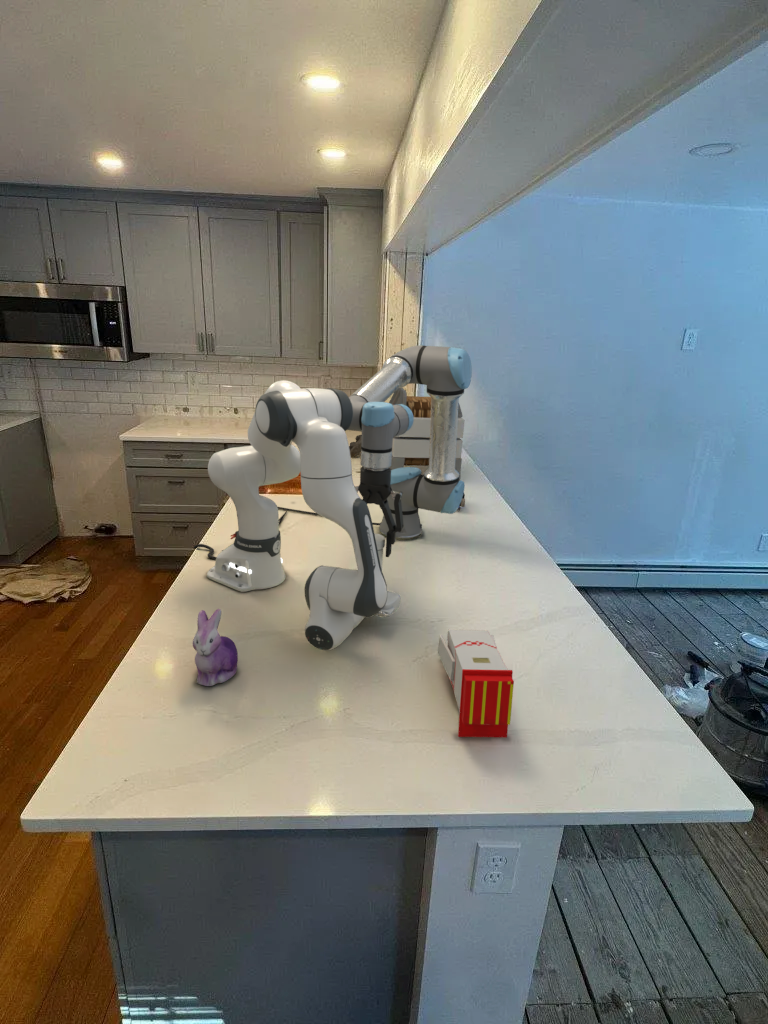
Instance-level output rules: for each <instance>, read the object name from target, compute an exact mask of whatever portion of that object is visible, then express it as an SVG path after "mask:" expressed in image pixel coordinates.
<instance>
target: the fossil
mask: <svg viewBox="0 0 768 1024" xmlns="http://www.w3.org/2000/svg"><path fill="white" fill-rule="evenodd" d="M354 440H355V441H351V442H350V443H349V449H350V456H351V458H352V457H355V456H357V455H359V454H361V445H362V434H358V435H356V436H355V438H354Z"/></svg>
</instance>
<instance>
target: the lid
mask: <svg viewBox="0 0 768 1024" xmlns="http://www.w3.org/2000/svg"><path fill="white" fill-rule="evenodd" d="M374 534H375V539H376V544H377V550H380V549H382V548H383V549H384V548H385V547H386V537H384V536H383V535H381V534H380V533H374Z"/></svg>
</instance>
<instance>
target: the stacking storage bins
mask: <svg viewBox="0 0 768 1024" xmlns="http://www.w3.org/2000/svg"><path fill="white" fill-rule="evenodd" d="M407 394H408V393H407V390H406V389H404V387H401V388H398V389H397V390H396V391H395V392H394V393H393V394H392V395H391V398H390V400H389V402H388V403H390V404H392V405H395V404H403V405H405V406H407V407H408V408H409V409H410V410H411V411H412V413H413V417H414V421H413V425H412V427H411V428H410V429H409V430H408V431H406V432H405V433H404V434H401V435H399V436H396V437H394V438H393V442H392V462H391V466H390V467H389V468H390V469H391V470H393V469H397V468H403V467H405V466H406V467H417V466H418V467H429V451H430V420H431V397H430V396H415V395H414V396H413V395H412V396H411V395H407ZM464 429H465V419H464V418H463V411H462V408H461V405H460V403H459V404H458V422H457V441H456V459H455V470H456V471H457V472H458V473H459V481H460V480H461V472H462V461H463V460H462V453H463V442H464V441H463V440H462V439H463V438H464V431H465V430H464Z"/></svg>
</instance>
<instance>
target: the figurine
mask: <svg viewBox="0 0 768 1024" xmlns="http://www.w3.org/2000/svg"><path fill="white" fill-rule="evenodd" d="M221 617H222V609H220V608H217V609H216V610H214V611H213V613H212V614H211V616H210V617H208V614H207V612H206V610H204V609H201V610H200V611H199V612H198V614H197V617H196V618H197V620H196V621H197V622H196V624H197V631H196V632H195V634H194V637H193V639H192V647H193V649H194V650H195V651H196V654H195V656H194V664H195V666H196V667H195V668H196V670H197V679H196V682H197V684H198V685H201V686H204V687H205V686H206V687H213V686H215V685H216V684H222V683H225V682H227V681H228V680H229V679H231V678H232V677H234V675H235V676H236V674H237V671H238V663H239V662H238V661H239V656H238V655H239V653H238V648H237V645H236V644H235V642H234V640H233V639H232V638H230V637H228V636H226V635H225V636H223V635H220V633H219V631H218V629H219V624H220V622H221Z"/></svg>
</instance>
